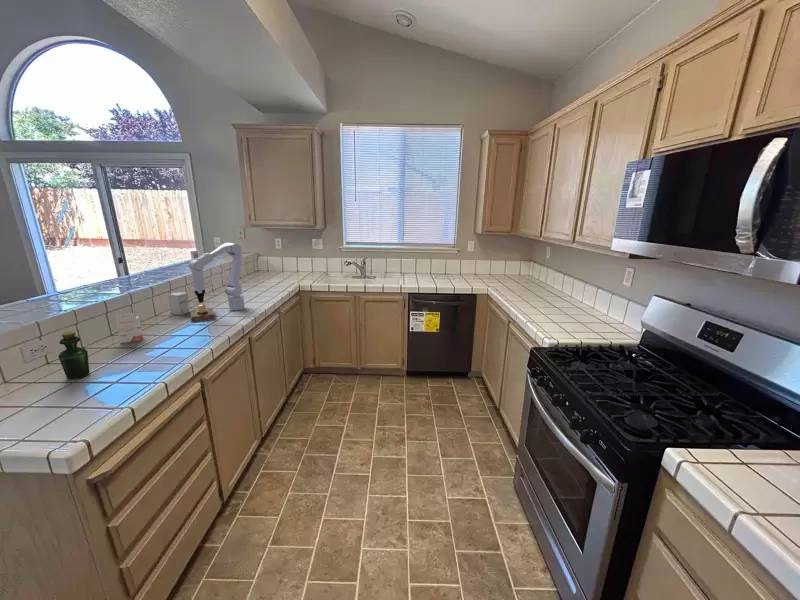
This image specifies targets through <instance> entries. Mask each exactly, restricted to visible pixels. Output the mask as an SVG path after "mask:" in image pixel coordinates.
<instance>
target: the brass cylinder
mask: <svg viewBox="0 0 800 600" xmlns="http://www.w3.org/2000/svg"><path fill="white" fill-rule="evenodd" d="M206 308H207V307H206V304H203V303H202V304H201V303H199V304H198V305H197V309H198V311H199V315H201V314H207V313H206Z"/></svg>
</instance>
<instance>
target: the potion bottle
mask: <svg viewBox="0 0 800 600" xmlns="http://www.w3.org/2000/svg"><path fill="white" fill-rule="evenodd" d="M61 337H62V338H61V339H60V340H59V344H60V345H64V347H65V349H64V350H62V351H61V352H60V353H59V355H58V359H59V362H60V364H61V367H62V370H63V372H64V374H65V378H66V379H68V380H79V379H82V378H85V377H87V376H88V375H89V374H90V364H89V355H88V354H89V353H88V350H87V349H86V348H85V347H79V346H78V343H79V342H80V341H81V338H80V337H79V336H77V335H76V332H75V331H66V332H62V333H61Z"/></svg>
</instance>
